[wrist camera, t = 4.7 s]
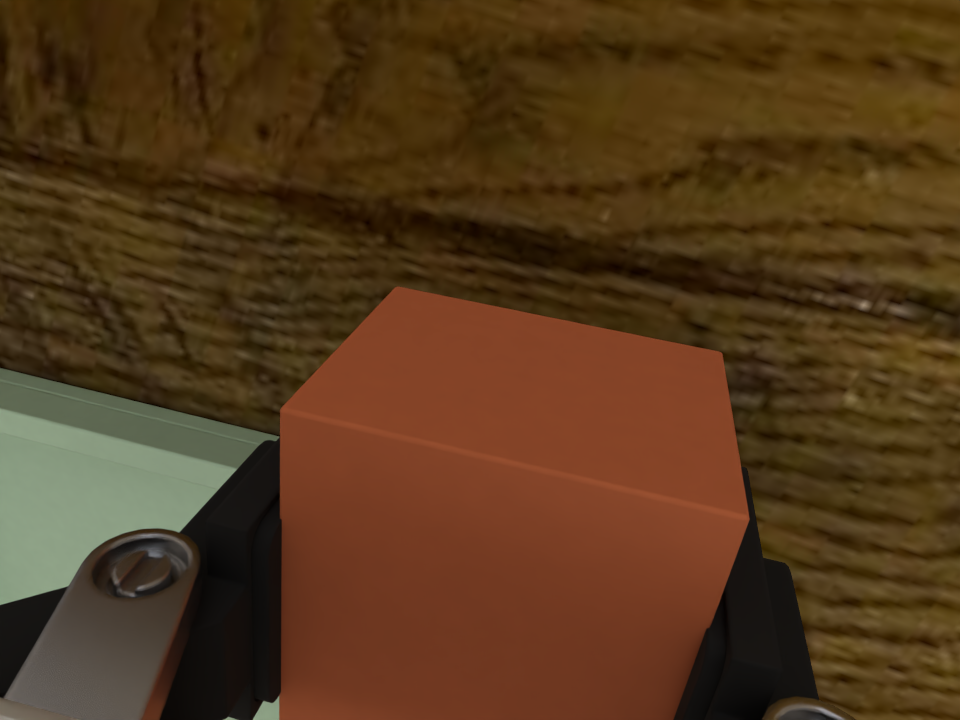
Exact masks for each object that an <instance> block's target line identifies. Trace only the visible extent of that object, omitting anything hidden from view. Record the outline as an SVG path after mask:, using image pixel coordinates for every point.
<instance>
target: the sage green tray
mask: <svg viewBox="0 0 960 720" xmlns="http://www.w3.org/2000/svg"><path fill="white" fill-rule="evenodd" d="M278 438H279V436H275V435H271V434H267V433H263V432H259V431H255V430H250V429H246V428H242V427H238V426H234V425H230V424H226V423H222V422H218V421H214V420H210V419H206V418H202V417H198V416H194V415H189V414H185V413H181V412H177V411H173V410H169V409H165V408H161V407H157V406H153V405H149V404H145V403H141V402H137V401H132V400H128V399H124V398H120V397H116V396H112V395H108V394H104V393H100V392H96V391H92V390H88V389H84V388H80V387H75V386H71V385H67V384H63V383H59V382H55V381H51V380H47V379H43V378H39V377H35V376H31V375H27V374H23V373H18V372H14V371H10V370H6V369H2V368H0V605H2V604H5V603H9V602H13V601H16V600H20V599H24V598H27V597H31V596H34V595H38V594H42V593H45V592H49V591H53V590H56V589H60V588H64V587H67V586H69V584H70V583H71V581H72V579H73V578H74V576H75V574H76V572H77V571H78V569H79V567H80V566H81V564H82V562H83V561H84V560H85V559H86V557H87V556H88V555H89V554H90V553H91V551H92V550H94V549H95V548H96V547H98V546H99V545H101V544H102V543H103V542H105V541H106V540H109V539H111V538H113V537H116V536H118V535H120V534H122V533H126V532H130V531H135V530H139V529H152V528H161V529H167V530H173V531H177V532H180V531H181V530H182V529H183V528H184V527H185V526H186V524H187V523H188V522H189V521H190V520H191V519H192V518H193V517H194V516H195V515H196V514H197V512H198V511H199V510H200V509H201V508H202V507H203V506H204V505H205V504H206V503H207V502H208V500H209V499H210V498H211V497H212V496H213V495H214V494H215V493H216V492H217V491H218V490H219V488H220V487H221V486H222V485H223V484H224V483H225V482H226V481H227V480H228V479H229V477H230V476H231V475H232V474H233V473H234V472H235V471H236V470H237V469H238V468H239V467H240V465H241V464H242V463H243V462H244V461H245V460H246V459H247V458H248V457H249V456H250V455H251V453H252V452H253V451H254V450H255V449H256V448H257V447H258V446H259V445H260V444H261V443H262V442H264V441H266V440H273V441H277V439H278ZM224 720H237V719H234V718H231V717H228V718H226V719H224ZM253 720H279V696H278V698H277V700H276V701H275V702H274V703H269V702H266V701H263V703H262V705H261V706H260V708H259V710H258V712H257V713H256V715H255V717H254V719H253Z"/></svg>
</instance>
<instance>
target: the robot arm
mask: <svg viewBox="0 0 960 720" xmlns="http://www.w3.org/2000/svg"><path fill="white" fill-rule="evenodd" d="M741 470H742V476H743V482H744V488H745V494H746V500H747V506H748V512H749V518H750V520H749V523H748V525H747V528H746V531H745V533H744V536H743V539H742V542H741V544H740V547H739V550H738V553H737V555H736V558H735V561H734V564H733V566H732V569H731V572H730V575H729V577H728V580H727V583H726V585H725V588H724V591H723V594H722V596H721V599H720V602H719V605H718V607H717V610H716V613H715V616H714V618H713V621H712V624H711V626H710V628H706V631H705V634H704V637H703V640H702V642H701V645H700V648H699V651H698V653H697V656H696V659H695V662H694V664H693V667H692V670H691V673H690V675H689V678H688V681H687V684H686V686H685V689H684V692H683V695H682V697H681V700H680V703H679V706H678V708H677V711H676V714H675V717H674V719H673V720H856V719H854V718H853V717H852V716H850V715H848V714H847V713H845V712H843V711H842V710H840V709H838V708H837V707H835V706H833V705H830V704H827V703H825V702H822V701H819V698H818V693H817V689H816V684H815V680H814V675H813V671H812V666H811V662H810V657H809V653H808V648H807V644H806V639H805V634H804V630H803V625H802V621H801V616H800V612H799V607H798V603H797V598H796V594H795V589H794V585H793V580H792V576H791V572H790V569H789V567H788V566H787V565H786V564H785V563H783V562H778V561H774V560H770V559H766V558H763V556H762V550H761V544H760V539H759V533H758V527H757V522H756V516H755V510H754V505H753V499H752V493H751V488H750V482H749V476H748V471H747V468H745V467H741ZM281 577H282V520H281V519H280V437H279V438H278V439H277V441H273V440H266V441H264V442H262V443H261V444H260V445H259V446H258V447H257V448H256V449H255V450H254V451H253V452H252V453H251V455H250V456H249V457H248V458H247V459H246V460H245V461H244V462H243V463H242V464H241V465H240V467H239V468H238V469H237V470H236V471H235V472H234V473H233V474H232V475H231V476H230V477H229V479H228V480H227V481H226V482H225V483H224V484H223V485H222V486H221V487H220V488H219V490H218V491H217V492H216V493H215V494H214V495H213V496H212V497H211V498H210V499H209V500H208V502H207V503H206V504H205V505H204V506H203V507H202V508H201V509H200V510H199V511H198V512H197V514H196V515H195V516H194V517H193V518H192V519H191V520H190V521H189V522H188V523H187V524H186V526H185V527H184V528H183V529H182V530H181V531H180V532H177V531H173V530H167V529H161V528H152V529H139V530H135V531H130V532H126V533H122V534H120V535H118V536H116V537H113V538H111V539H109V540H106V541H105V542H103V543H102V544H101V545H99V546H98V547H96V548H95V549H94V550H92V551H91V553H90V554H89V555H88V556H87V557H86V559H85V560H84V561H83V562H82V564H81V566H80V567H79V569H78V571H77V572H76V574H75V576H74V578H73V579H72V581H71V583H70V584H69V586H67V587H64V588H60V589H56V590H53V591H49V592H45V593H42V594H38V595H34V596H31V597H27V598H24V599H20V600H16V601H13V602H9V603H5V604H2V605H0V720H224V719H226V718H228V717H231V718H234V719H237V720H253V719H254V717H255V715H256V713H257V712H258V710H259V708H260V706H261V705H262V703H263V701H266V702H269V703H274V702H275V701H276V700H277V698H278V696H279V695H280V693H281Z"/></svg>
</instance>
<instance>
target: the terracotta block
mask: <svg viewBox="0 0 960 720" xmlns="http://www.w3.org/2000/svg"><path fill="white" fill-rule="evenodd" d="M280 519H281V520H282V577H281V693H280V695H279V720H673V719H674V717H675V714H676V711H677V708H678V706H679V703H680V700H681V697H682V695H683V692H684V689H685V686H686V684H687V681H688V678H689V675H690V673H691V670H692V667H693V664H694V662H695V659H696V656H697V653H698V651H699V648H700V645H701V642H702V640H703V637H704V634H705V631H706V628H710V626H711V624H712V621H713V618H714V616H715V613H716V610H717V607H718V605H719V602H720V599H721V596H722V594H723V591H724V588H725V585H726V583H727V580H728V577H729V575H730V572H731V569H732V566H733V564H734V561H735V558H736V555H737V553H738V550H739V547H740V544H741V542H742V539H743V536H744V533H745V531H746V528H747V525H748V523H749V520H750V518H749V512H748V506H747V500H746V494H745V488H744V482H743V476H742V470H741V464H740V458H739V452H738V446H737V440H736V434H735V428H734V422H733V416H732V409H731V403H730V397H729V391H728V385H727V379H726V373H725V367H724V361H723V355H722V353H721V352H718V351H713V350H708V349H703V348H699V347H694V346H689V345H684V344H679V343H674V342H669V341H664V340H659V339H654V338H649V337H644V336H640V335H635V334H630V333H625V332H620V331H615V330H610V329H605V328H600V327H595V326H590V325H585V324H580V323H576V322H571V321H566V320H561V319H556V318H551V317H546V316H541V315H536V314H531V313H526V312H521V311H516V310H512V309H507V308H502V307H497V306H492V305H487V304H482V303H477V302H472V301H467V300H462V299H457V298H452V297H448V296H443V295H438V294H433V293H428V292H423V291H418V290H413V289H408V288H403V287H395V288H394V289H393V290H392V291H391V292H390V293H389V294H388V295H387V297H386V298H385V299H384V300H383V301H382V302H381V303H380V304H379V305H378V306H377V307H376V308H375V309H374V310H373V311H372V312H371V313H370V314H369V316H368V317H367V318H366V319H365V320H364V321H363V322H362V323H361V324H360V325H359V326H358V327H357V328H356V329H355V330H354V331H353V332H352V334H351V335H350V336H349V337H348V338H347V339H346V340H345V341H344V342H343V343H342V344H341V345H340V346H339V347H338V348H337V349H336V350H335V351H334V353H333V354H332V355H331V356H330V357H329V358H328V359H327V360H326V361H325V362H324V363H323V364H322V365H321V366H320V367H319V368H318V369H317V371H316V372H315V373H314V374H313V375H312V376H311V377H310V378H309V379H308V380H307V381H306V382H305V383H304V384H303V385H302V386H301V387H300V388H299V390H298V391H297V392H296V393H295V394H294V395H293V396H292V397H291V398H290V399H289V400H288V401H287V402H286V403H285V404H284V405H283V406H282V408H281V410H280Z"/></svg>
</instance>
